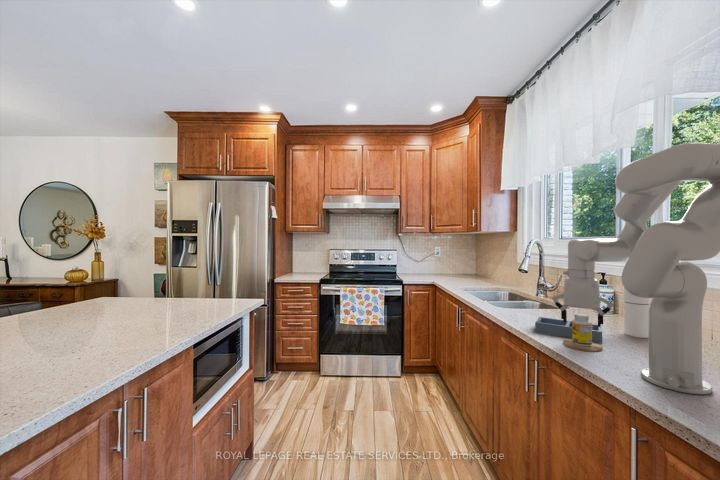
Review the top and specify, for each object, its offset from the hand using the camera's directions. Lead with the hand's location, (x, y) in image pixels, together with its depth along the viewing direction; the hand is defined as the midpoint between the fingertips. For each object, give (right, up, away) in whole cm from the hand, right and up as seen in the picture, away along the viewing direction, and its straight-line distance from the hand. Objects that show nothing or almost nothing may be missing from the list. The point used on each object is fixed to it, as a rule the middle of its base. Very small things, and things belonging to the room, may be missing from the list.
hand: (581, 323), depth 104 cm
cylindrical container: (+31, -8, +12) cm, 34 cm away
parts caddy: (+5, -8, +14) cm, 17 cm away
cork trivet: (0, -8, 0) cm, 8 cm away
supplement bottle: (0, -7, 0) cm, 7 cm away
